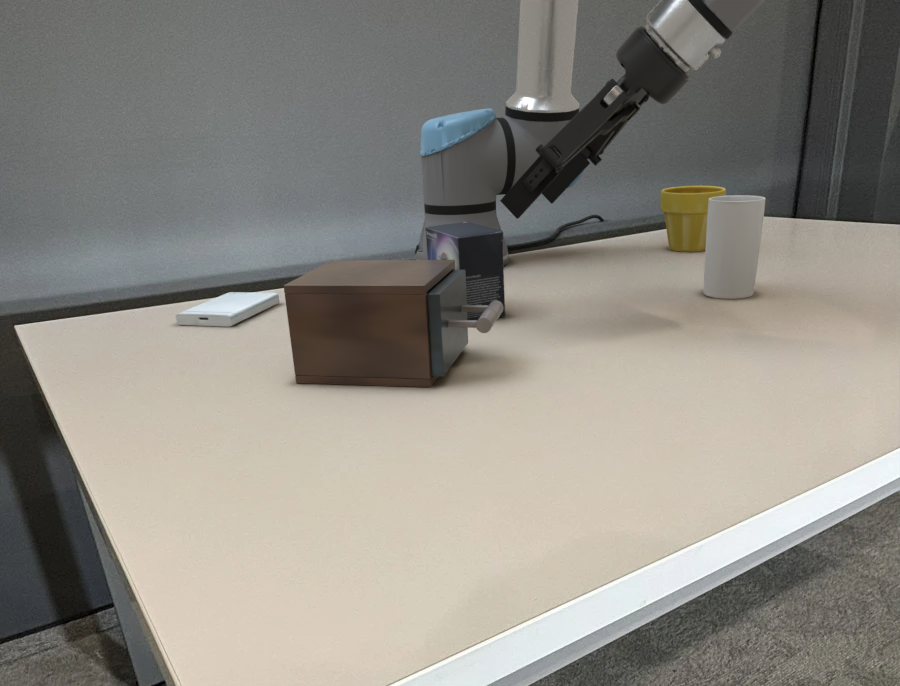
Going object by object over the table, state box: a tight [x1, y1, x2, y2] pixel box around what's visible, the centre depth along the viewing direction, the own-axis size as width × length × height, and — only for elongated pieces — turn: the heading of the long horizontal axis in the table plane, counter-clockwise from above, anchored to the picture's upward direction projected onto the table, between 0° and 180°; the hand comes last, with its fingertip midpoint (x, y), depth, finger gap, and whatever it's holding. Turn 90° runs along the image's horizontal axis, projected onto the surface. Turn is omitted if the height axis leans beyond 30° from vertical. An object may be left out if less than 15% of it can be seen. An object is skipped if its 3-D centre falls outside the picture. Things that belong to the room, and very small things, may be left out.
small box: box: [425, 221, 507, 320], centre depth 99 cm, size 11×6×10 cm, turn 23°
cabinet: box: [283, 259, 455, 388], centre depth 80 cm, size 14×13×10 cm
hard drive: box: [175, 291, 280, 328], centre depth 106 cm, size 2×8×12 cm
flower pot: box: [659, 185, 727, 253], centre depth 134 cm, size 10×10×10 cm
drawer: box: [427, 270, 504, 377], centre depth 79 cm, size 17×11×8 cm
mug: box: [702, 194, 767, 300], centre depth 103 cm, size 10×7×12 cm, turn 149°
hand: (527, 202), depth 93 cm, fingers open, 13 cm apart
